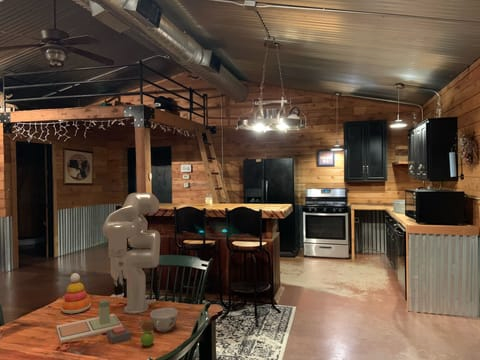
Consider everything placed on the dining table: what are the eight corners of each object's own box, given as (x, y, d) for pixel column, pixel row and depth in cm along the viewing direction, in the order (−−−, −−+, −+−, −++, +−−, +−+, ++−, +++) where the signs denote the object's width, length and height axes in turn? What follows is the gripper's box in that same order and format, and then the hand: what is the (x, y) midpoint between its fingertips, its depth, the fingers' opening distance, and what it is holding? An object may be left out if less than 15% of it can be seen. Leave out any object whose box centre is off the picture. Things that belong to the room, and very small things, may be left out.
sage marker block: (107, 319, 170) (107, 299, 170) (109, 322, 167) (109, 301, 167) (99, 321, 168) (98, 300, 168) (100, 324, 165) (100, 303, 165)
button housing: (125, 332, 159) (125, 325, 159) (130, 339, 153) (130, 332, 153) (107, 336, 155) (107, 330, 155) (111, 344, 148) (111, 337, 148)
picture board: (113, 315, 179) (113, 313, 179) (123, 328, 164) (123, 325, 164) (56, 327, 165) (56, 325, 165) (60, 343, 150) (60, 340, 150)
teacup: (157, 322, 170) (156, 306, 170) (181, 324, 168) (181, 307, 168) (143, 336, 155) (143, 318, 155) (170, 338, 153) (170, 320, 153)
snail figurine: (139, 342, 150) (139, 314, 149) (155, 342, 150) (155, 313, 150) (137, 348, 144) (136, 319, 144) (153, 348, 145) (152, 319, 145)
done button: (122, 332, 157) (122, 326, 157) (125, 336, 153) (125, 329, 153) (112, 335, 154) (112, 328, 154) (114, 339, 151) (114, 332, 151)
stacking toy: (95, 309, 187) (95, 272, 187) (68, 317, 177) (68, 278, 176) (83, 303, 197) (82, 268, 196) (56, 310, 186) (56, 273, 186)
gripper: (131, 254, 149) (131, 297, 150) (122, 248, 162) (122, 288, 162) (112, 257, 145) (113, 301, 146) (105, 250, 158) (105, 291, 158)
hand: (118, 294), depth 154 cm, fingers closed
